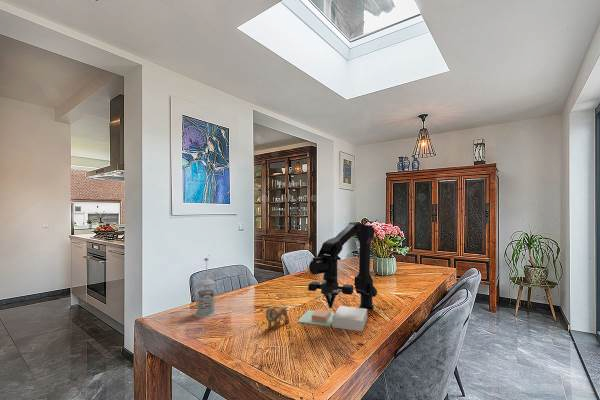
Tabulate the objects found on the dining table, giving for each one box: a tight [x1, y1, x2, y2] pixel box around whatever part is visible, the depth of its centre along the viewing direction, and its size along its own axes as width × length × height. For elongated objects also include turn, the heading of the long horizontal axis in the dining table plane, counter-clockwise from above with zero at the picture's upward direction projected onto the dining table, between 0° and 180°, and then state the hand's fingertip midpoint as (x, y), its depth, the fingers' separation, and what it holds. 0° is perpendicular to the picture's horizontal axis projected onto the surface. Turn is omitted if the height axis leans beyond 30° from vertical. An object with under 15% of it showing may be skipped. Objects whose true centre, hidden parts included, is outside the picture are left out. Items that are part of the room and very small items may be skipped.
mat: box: [296, 309, 336, 328], centre depth 131 cm, size 15×14×1 cm
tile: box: [312, 308, 332, 322], centre depth 131 cm, size 9×6×2 cm, turn 160°
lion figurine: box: [265, 306, 290, 330], centre depth 123 cm, size 15×5×9 cm, turn 154°
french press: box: [190, 257, 218, 319], centre depth 136 cm, size 10×12×25 cm
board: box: [331, 305, 368, 332], centre depth 126 cm, size 15×12×4 cm
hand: (330, 308), depth 129 cm, fingers closed
